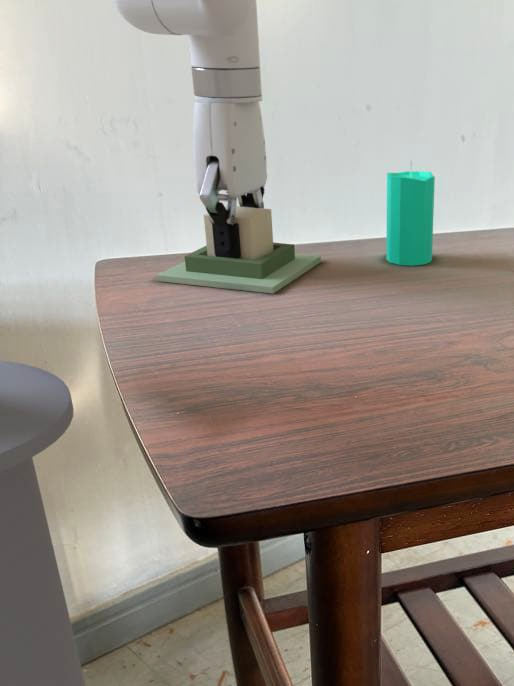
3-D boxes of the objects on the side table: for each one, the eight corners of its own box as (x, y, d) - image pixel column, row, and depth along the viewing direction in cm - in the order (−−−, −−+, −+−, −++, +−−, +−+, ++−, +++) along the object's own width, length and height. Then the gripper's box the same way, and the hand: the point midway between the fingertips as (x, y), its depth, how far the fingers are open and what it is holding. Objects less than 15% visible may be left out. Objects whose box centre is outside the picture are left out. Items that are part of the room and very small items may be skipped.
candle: (387, 265, 112) (388, 164, 105) (385, 253, 117) (385, 157, 110) (434, 265, 112) (438, 165, 106) (429, 253, 117) (432, 157, 111)
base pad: (273, 293, 100) (272, 271, 99) (157, 281, 104) (154, 259, 102) (321, 262, 112) (320, 241, 111) (215, 252, 116) (213, 231, 115)
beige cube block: (253, 262, 104) (250, 218, 101) (207, 258, 105) (203, 214, 103) (273, 251, 109) (271, 209, 106) (230, 246, 110) (226, 205, 107)
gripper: (231, 79, 105) (243, 233, 115) (157, 90, 91) (178, 265, 101) (289, 81, 103) (296, 238, 113) (222, 93, 89) (237, 271, 99)
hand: (240, 249), depth 107 cm, fingers closed on beige cube block, 5 cm apart
